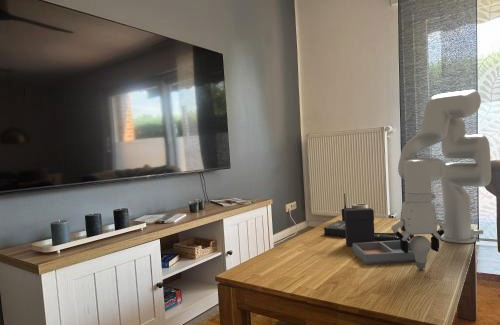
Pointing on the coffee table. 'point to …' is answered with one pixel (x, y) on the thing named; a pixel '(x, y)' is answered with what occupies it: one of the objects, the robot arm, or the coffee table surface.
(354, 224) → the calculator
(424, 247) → the lightbulb
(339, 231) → the wireless controller
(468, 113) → the robot arm
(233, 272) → the coffee table surface
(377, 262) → the sorting tray
